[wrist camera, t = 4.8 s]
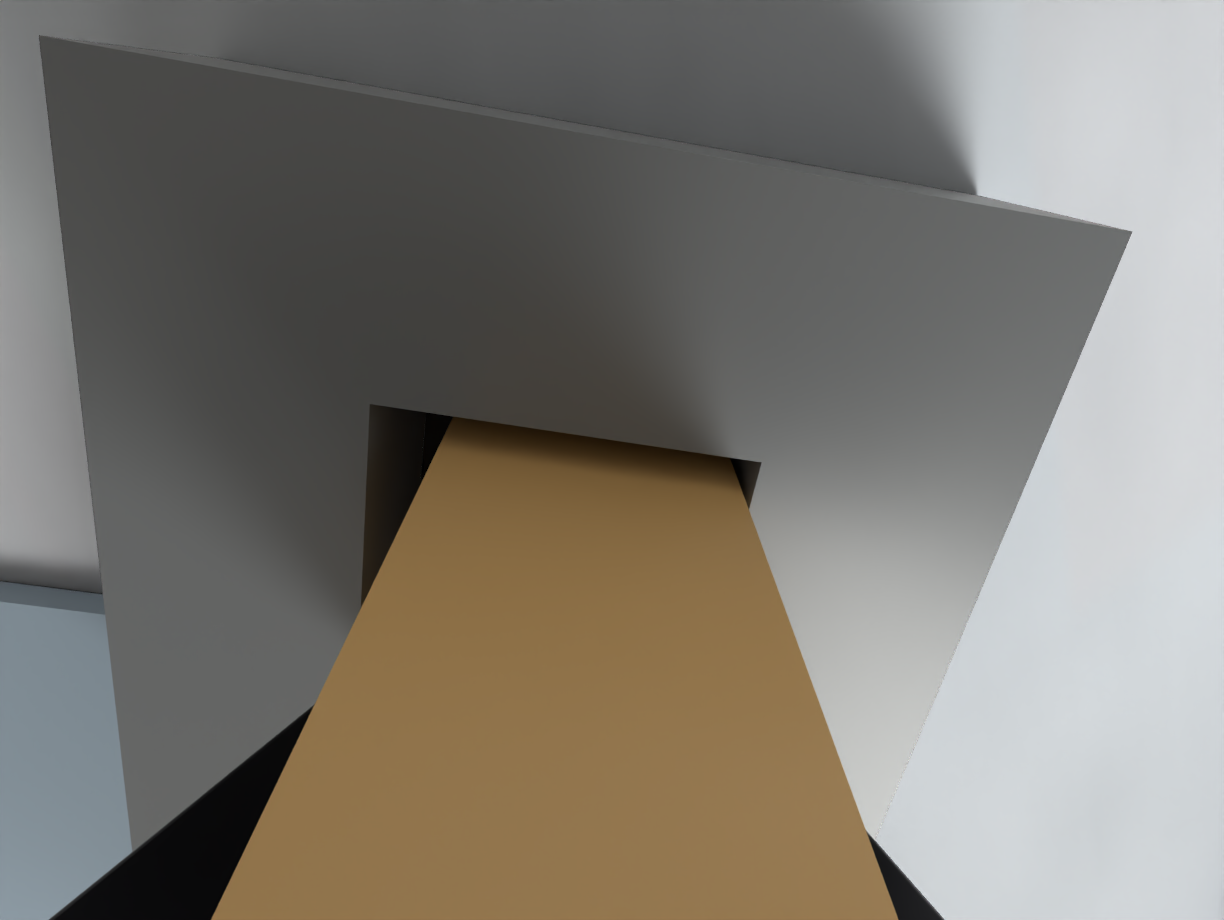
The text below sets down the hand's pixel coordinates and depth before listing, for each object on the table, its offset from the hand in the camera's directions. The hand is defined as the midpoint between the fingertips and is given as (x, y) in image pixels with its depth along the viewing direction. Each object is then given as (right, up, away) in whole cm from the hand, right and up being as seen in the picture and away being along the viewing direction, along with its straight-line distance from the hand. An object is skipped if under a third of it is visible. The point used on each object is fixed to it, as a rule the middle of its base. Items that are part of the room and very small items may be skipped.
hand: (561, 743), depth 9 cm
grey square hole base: (0, +3, +6) cm, 7 cm away
